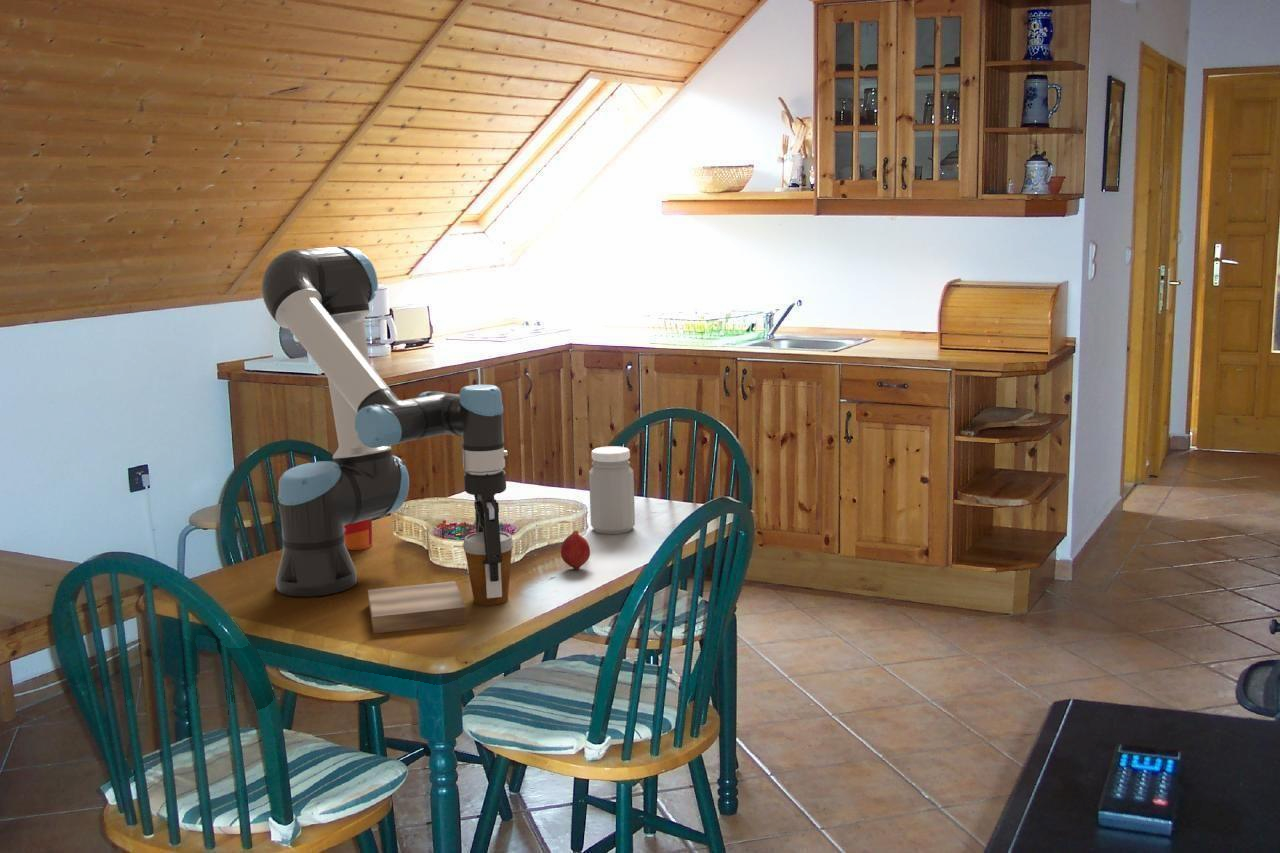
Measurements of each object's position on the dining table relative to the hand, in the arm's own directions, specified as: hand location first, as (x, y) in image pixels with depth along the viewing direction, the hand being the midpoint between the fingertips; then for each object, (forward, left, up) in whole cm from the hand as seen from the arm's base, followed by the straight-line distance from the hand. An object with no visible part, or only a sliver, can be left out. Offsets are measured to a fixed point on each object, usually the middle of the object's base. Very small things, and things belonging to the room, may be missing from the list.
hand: (490, 588), depth 241 cm
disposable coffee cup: (0, 0, -2) cm, 2 cm away
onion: (-14, +19, -2) cm, 24 cm away
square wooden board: (+4, -14, -2) cm, 15 cm away
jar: (-41, +33, -2) cm, 53 cm away
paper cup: (-46, -22, -2) cm, 51 cm away
